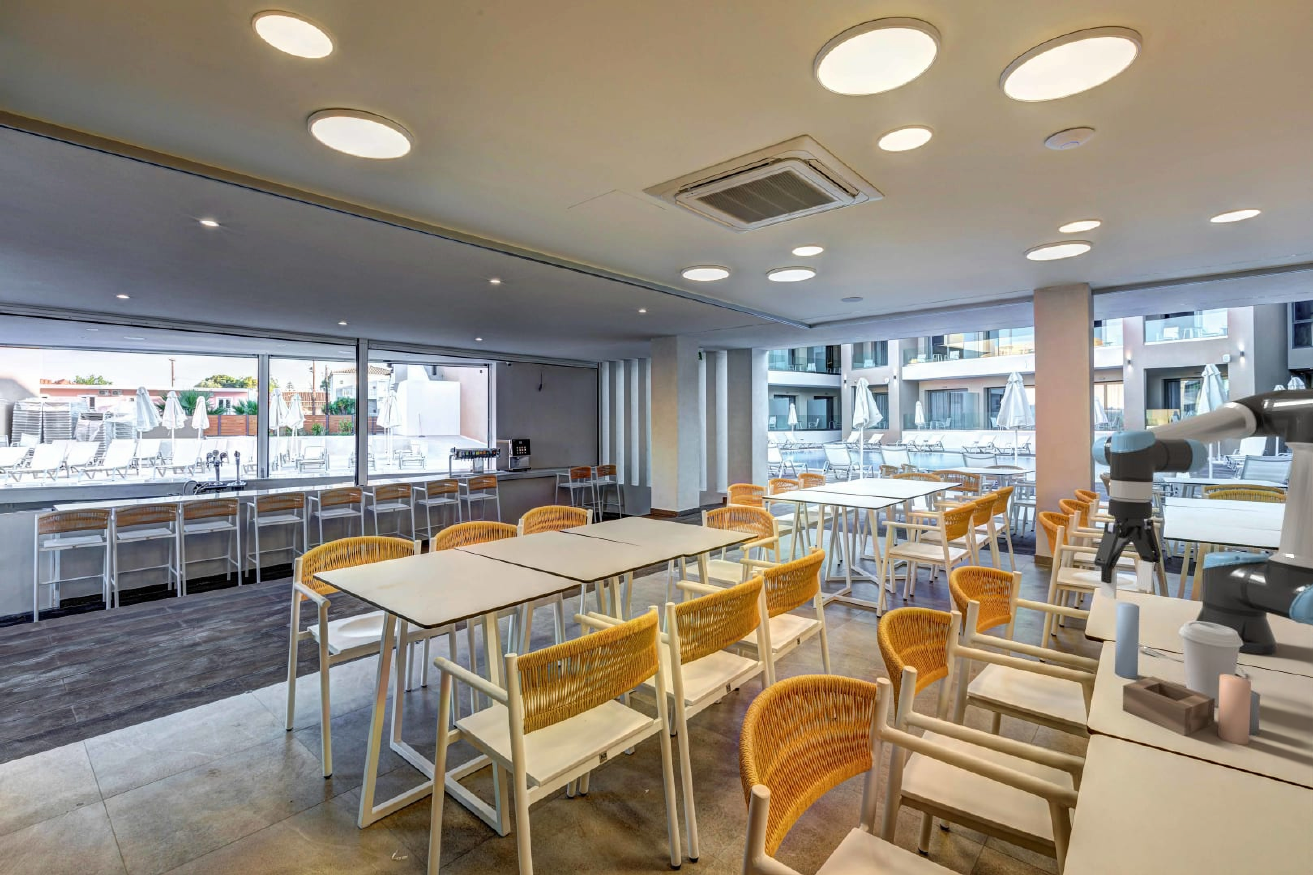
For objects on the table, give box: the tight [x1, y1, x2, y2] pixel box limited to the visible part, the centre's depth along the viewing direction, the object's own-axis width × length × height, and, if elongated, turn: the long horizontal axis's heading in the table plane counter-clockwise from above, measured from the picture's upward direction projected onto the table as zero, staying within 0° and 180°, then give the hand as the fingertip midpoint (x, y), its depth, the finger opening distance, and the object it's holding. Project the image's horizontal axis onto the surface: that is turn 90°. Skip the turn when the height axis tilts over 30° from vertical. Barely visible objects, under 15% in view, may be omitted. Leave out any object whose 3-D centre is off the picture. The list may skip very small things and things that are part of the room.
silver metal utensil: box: [1138, 642, 1247, 679], centre depth 136 cm, size 20×4×5 cm
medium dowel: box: [1217, 674, 1252, 746], centre depth 105 cm, size 4×4×11 cm
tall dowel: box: [1114, 601, 1140, 680], centre depth 130 cm, size 4×4×16 cm
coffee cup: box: [1178, 620, 1243, 708], centre depth 119 cm, size 10×10×15 cm
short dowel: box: [1249, 689, 1261, 735], centre depth 108 cm, size 4×4×7 cm
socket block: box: [1122, 675, 1216, 737], centre depth 112 cm, size 10×10×5 cm
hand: (1126, 593), depth 130 cm, fingers open, 13 cm apart
